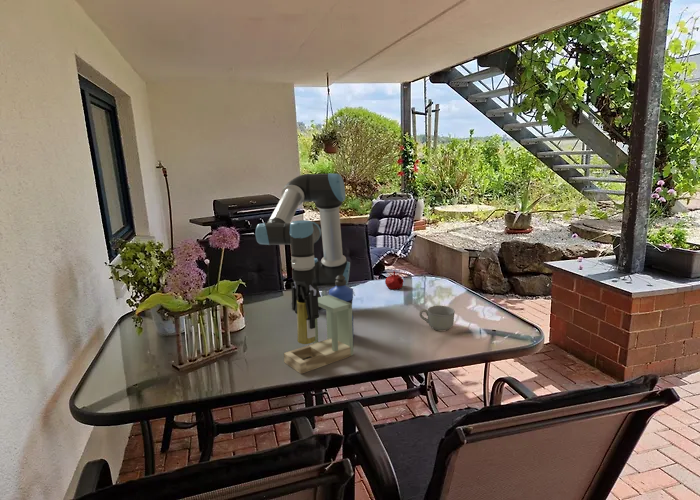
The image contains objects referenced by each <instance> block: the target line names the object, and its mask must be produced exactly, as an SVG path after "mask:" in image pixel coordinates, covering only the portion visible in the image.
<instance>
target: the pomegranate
mask: <svg viewBox="0 0 700 500" xmlns="http://www.w3.org/2000/svg"><path fill="white" fill-rule="evenodd" d="M387 275H388V276H387V277H386V278H385V279H384V280H385V281H384V282H385V286H386V287H387V288H388V289H389V290H400V289H402V288H403V286H404V282H405V281H404V279H403V278H402V276H401V274H400V273H398V274H396V271H395V270H393V274H391V273H388V274H387Z"/></svg>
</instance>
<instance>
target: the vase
mask: <svg viewBox="0 0 700 500" xmlns="http://www.w3.org/2000/svg"><path fill="white" fill-rule="evenodd" d="M307 318H308V315H307V310H306V305H305V300H302V301H299V300H297V316H296V322H297V321H298V332H297V343H299V344H301V345H311V344H313V342H314V341H315V337H312V338H307V320H306V319H307Z"/></svg>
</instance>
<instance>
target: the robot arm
mask: <svg viewBox="0 0 700 500" xmlns="http://www.w3.org/2000/svg"><path fill="white" fill-rule="evenodd" d="M345 186H346V185H345V182H344V179H343V177H342V175H341V174H339V173H331V172H329V173H305V174H300V175H298V176H296V177H294V178H293V179H291V180H290V181H289V182H287V183H286V184H285V186H284V187H283V188H282V190H281V197H280V199H279V201H278V202H277V204H276V206H275V208H274V210H273V212H272V213H271V216H270V217H269V219H268V220H267V222H263V223H258V224H257V225H256V227H255V234H254V235H255V241H256V242H257V243H258V244H259V245H265V246H267V245H268V246H271V245H272V246H274V245H275V246H276V245H277V246H279V245H280V246H281V245H289V246H290V257H291V260H290V262H291V268H292V269H291V276H292V277H291V279H292V280H293V282H291V283H290V287H291V304H290V305H291V310H292V311H294V312H295V315H296V317H297V300H299V301H302V300H305V305H306V310H307V315H308V318H307V319H306V320H307V338H312V337H315V319H316V318H317V319H319V318H320V311H319V310H321V309H322V308H321V307H319V306H318V297H322V296H321V292H320V287H331V288H333V287H335V286H336V285H335V280H336V277H337V276H338V275H343V276H344V277H345V279H344V280H346V286H348V284H349V279H350V272H351V270H350V269H351V262H350V261H348V260H347V257H346V255H343V241H342V229H341V217H340V216H341V215H340V207H342V205H343V202H344V201H345V200H346V187H345ZM306 202H311V203H312V202H314V205H315V208H317V209H318V210H319V219H320V220H319V221H320V225H319V224H318V223H317V222H315V221H311V220H307V219H302V220H295V221H293V218H294V217H295V214H296V212H297V210H298V207H299V206H301V205H302V204H303V203H306ZM320 237H321V240H322V251H323V257H322V258H321V260H320V261H319V259H318V258H317V257H315V249H314V248H315V247H314V246H315V243H317V242H318V241H319V239H320ZM296 330H297V333H298V321H297V320H296Z"/></svg>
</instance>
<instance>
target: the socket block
mask: <svg viewBox="0 0 700 500" xmlns="http://www.w3.org/2000/svg"><path fill="white" fill-rule="evenodd" d="M351 356H352V355H351V348H350V346H348V345H346V344H344V343H342V342H340V341H338V351H335V352H334V351H333V350H332V338H330V339H327V338H326V339H325V340H321V341H318V342H317V343H314V344H313V343H310V344H307V345H305V346H301V347H299V348H298V347H297V348H295V349H292V350H289V351H285V352H283V359H284V360H283V362H284V364H286V365H287V366H289V367H290V368H291V369H292V370H294V371H296V372H297V373H299V374H300V375H301V374H304V373H307V372H311V371H314V370H316V369H319V368H321V367H325V366H327V365H329V364H333V363H336V362H338V361H341V360H344V359H347V358H349V357H351Z"/></svg>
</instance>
